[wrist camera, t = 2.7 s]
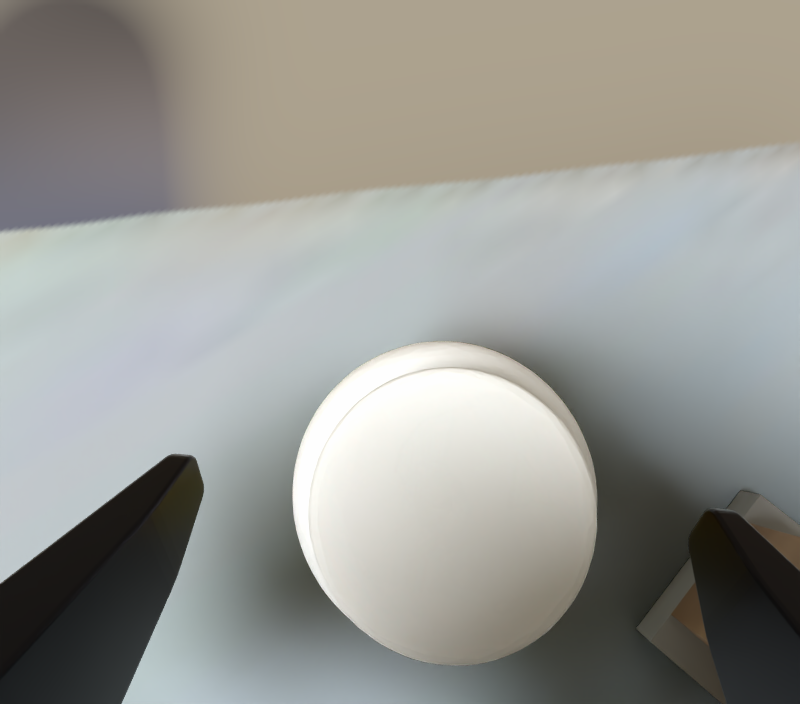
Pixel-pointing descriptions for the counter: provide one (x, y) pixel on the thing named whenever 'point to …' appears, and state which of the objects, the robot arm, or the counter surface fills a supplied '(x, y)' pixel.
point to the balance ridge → (679, 605)
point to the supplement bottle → (446, 502)
